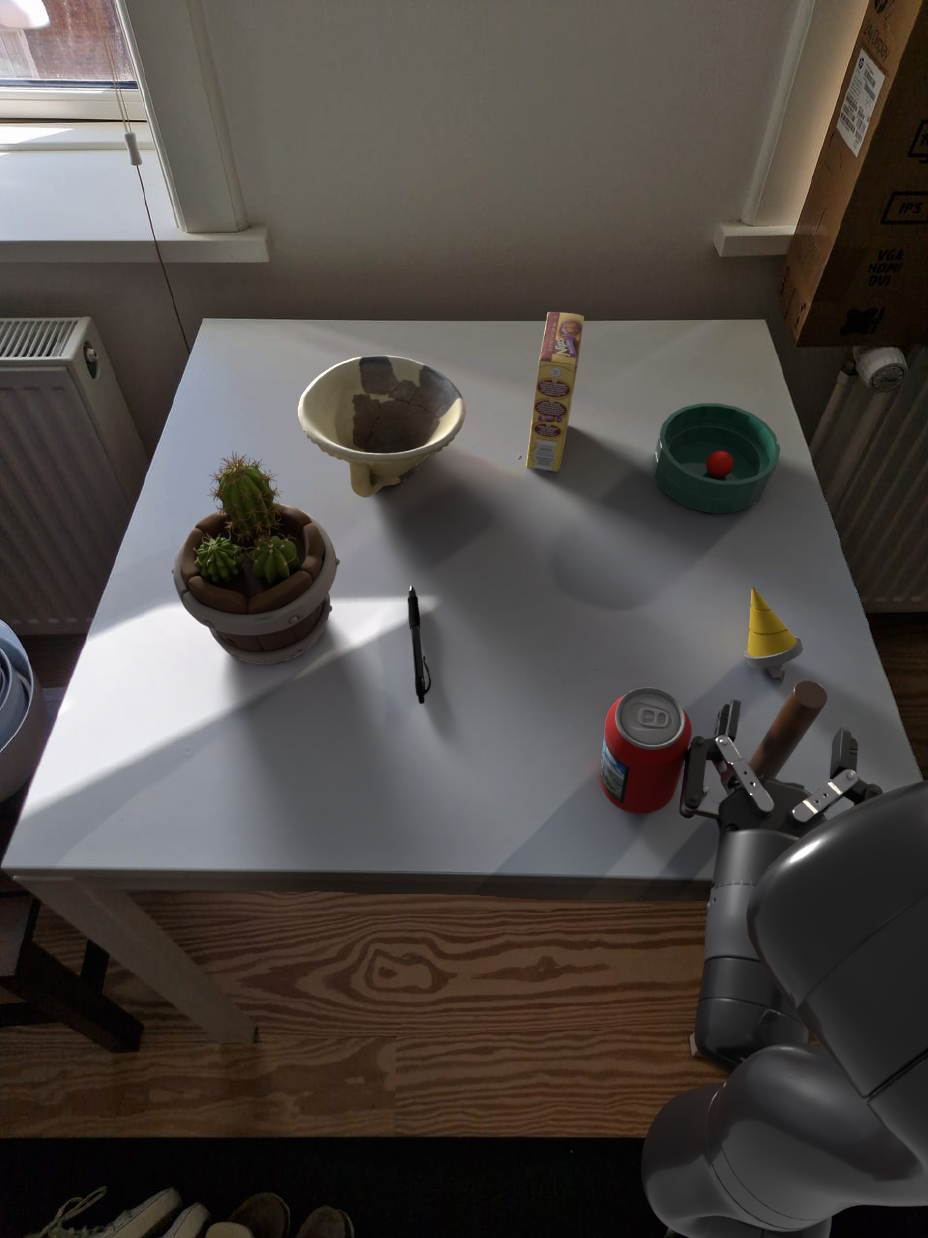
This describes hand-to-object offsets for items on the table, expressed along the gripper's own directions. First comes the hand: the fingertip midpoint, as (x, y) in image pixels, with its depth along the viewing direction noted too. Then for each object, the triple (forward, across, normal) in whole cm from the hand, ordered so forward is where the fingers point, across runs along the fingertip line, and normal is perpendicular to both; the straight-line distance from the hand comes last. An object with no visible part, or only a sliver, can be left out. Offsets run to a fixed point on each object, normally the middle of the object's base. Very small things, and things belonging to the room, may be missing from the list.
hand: (787, 718), depth 69 cm
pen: (+4, +33, +10) cm, 35 cm away
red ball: (+37, +8, +8) cm, 39 cm away
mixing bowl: (+37, +9, +10) cm, 40 cm away
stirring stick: (-2, 0, +10) cm, 10 cm away
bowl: (+27, +45, +10) cm, 54 cm away
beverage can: (-4, +10, +10) cm, 15 cm away
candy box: (+36, +28, +10) cm, 47 cm away
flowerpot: (+2, +48, +10) cm, 49 cm away
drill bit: (+13, +1, +10) cm, 17 cm away
